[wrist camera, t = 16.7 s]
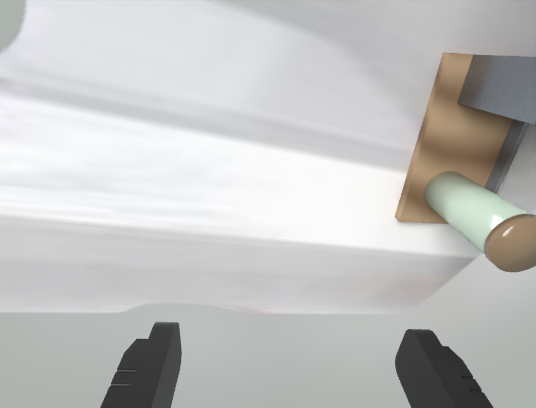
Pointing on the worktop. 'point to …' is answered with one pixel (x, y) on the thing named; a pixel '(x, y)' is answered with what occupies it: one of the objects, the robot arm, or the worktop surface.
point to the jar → (485, 220)
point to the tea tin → (502, 86)
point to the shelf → (457, 142)
